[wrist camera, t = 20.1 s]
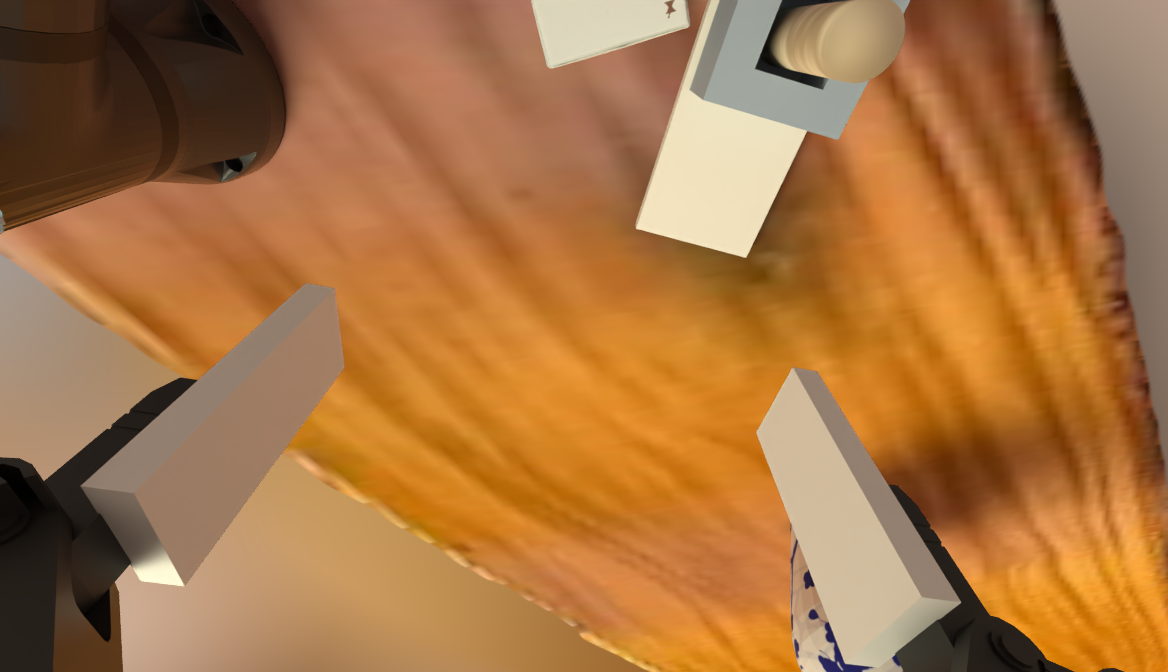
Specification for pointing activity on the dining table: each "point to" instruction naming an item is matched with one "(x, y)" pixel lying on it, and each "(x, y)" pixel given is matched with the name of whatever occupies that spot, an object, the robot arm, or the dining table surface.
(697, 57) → the peg insertion fixture
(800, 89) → the socket block
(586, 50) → the supplement box
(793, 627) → the vase
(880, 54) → the dowel
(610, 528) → the dining table surface
